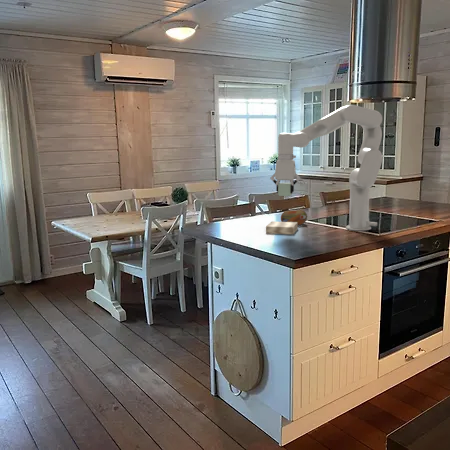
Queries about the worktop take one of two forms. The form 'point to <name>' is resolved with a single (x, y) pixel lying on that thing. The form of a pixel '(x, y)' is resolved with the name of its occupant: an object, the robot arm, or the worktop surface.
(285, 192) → the sage cube
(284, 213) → the tin
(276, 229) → the birch block
